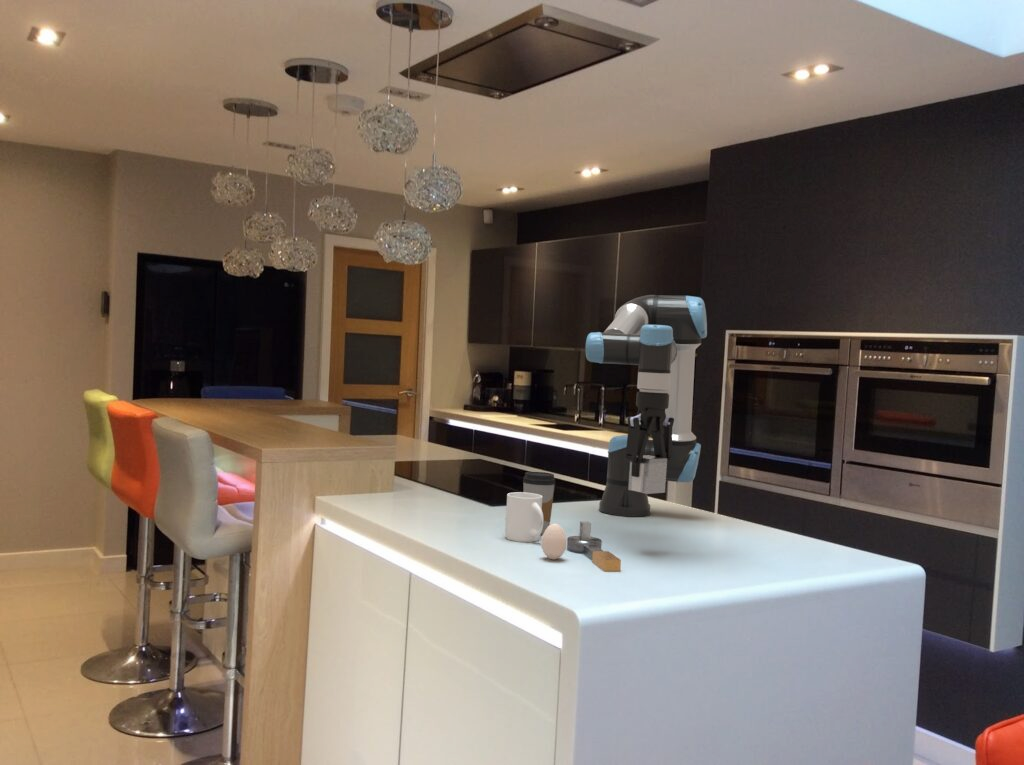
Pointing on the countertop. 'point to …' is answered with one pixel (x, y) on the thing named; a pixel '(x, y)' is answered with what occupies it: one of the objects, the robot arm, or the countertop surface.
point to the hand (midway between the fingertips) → (646, 489)
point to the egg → (554, 541)
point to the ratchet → (592, 549)
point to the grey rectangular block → (652, 474)
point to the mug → (524, 517)
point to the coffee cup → (541, 492)
